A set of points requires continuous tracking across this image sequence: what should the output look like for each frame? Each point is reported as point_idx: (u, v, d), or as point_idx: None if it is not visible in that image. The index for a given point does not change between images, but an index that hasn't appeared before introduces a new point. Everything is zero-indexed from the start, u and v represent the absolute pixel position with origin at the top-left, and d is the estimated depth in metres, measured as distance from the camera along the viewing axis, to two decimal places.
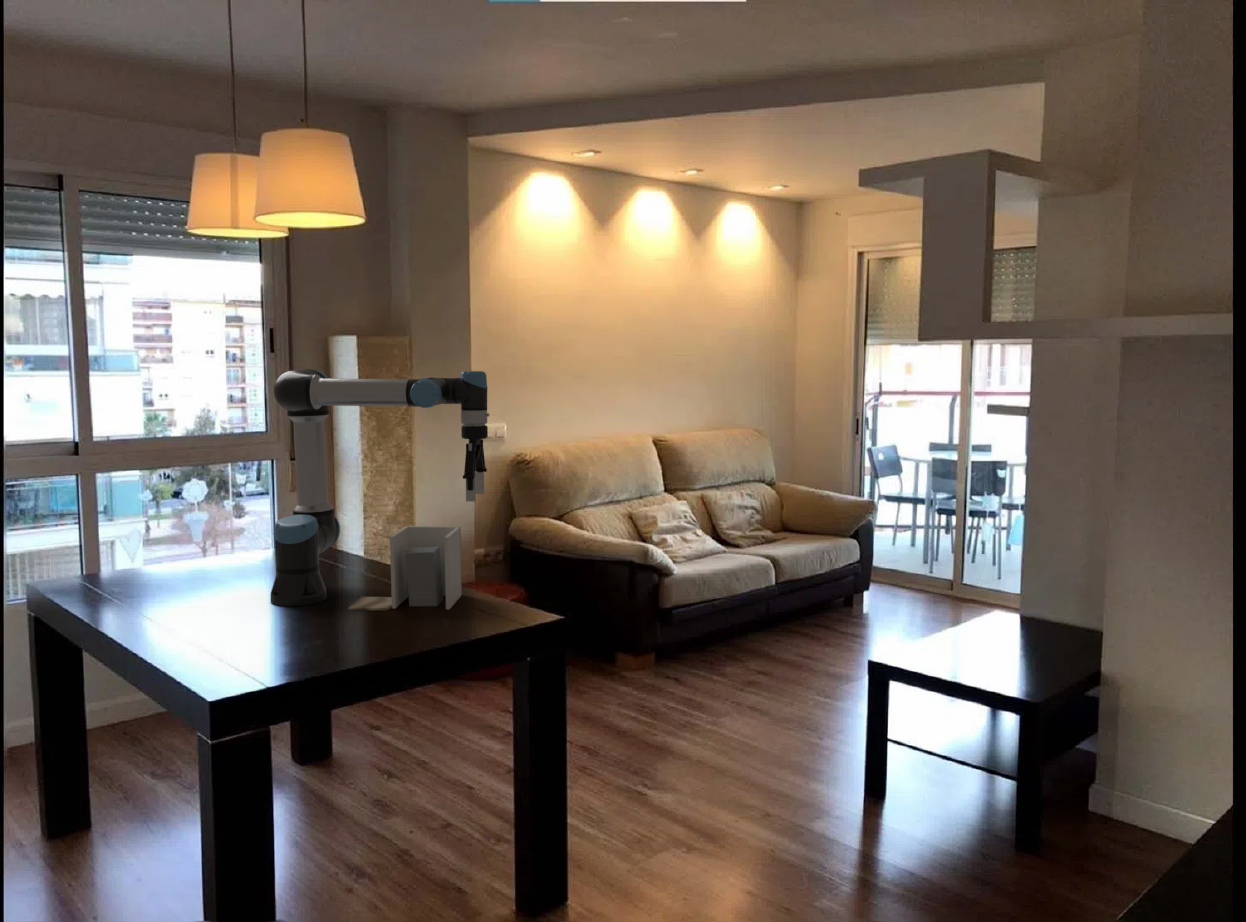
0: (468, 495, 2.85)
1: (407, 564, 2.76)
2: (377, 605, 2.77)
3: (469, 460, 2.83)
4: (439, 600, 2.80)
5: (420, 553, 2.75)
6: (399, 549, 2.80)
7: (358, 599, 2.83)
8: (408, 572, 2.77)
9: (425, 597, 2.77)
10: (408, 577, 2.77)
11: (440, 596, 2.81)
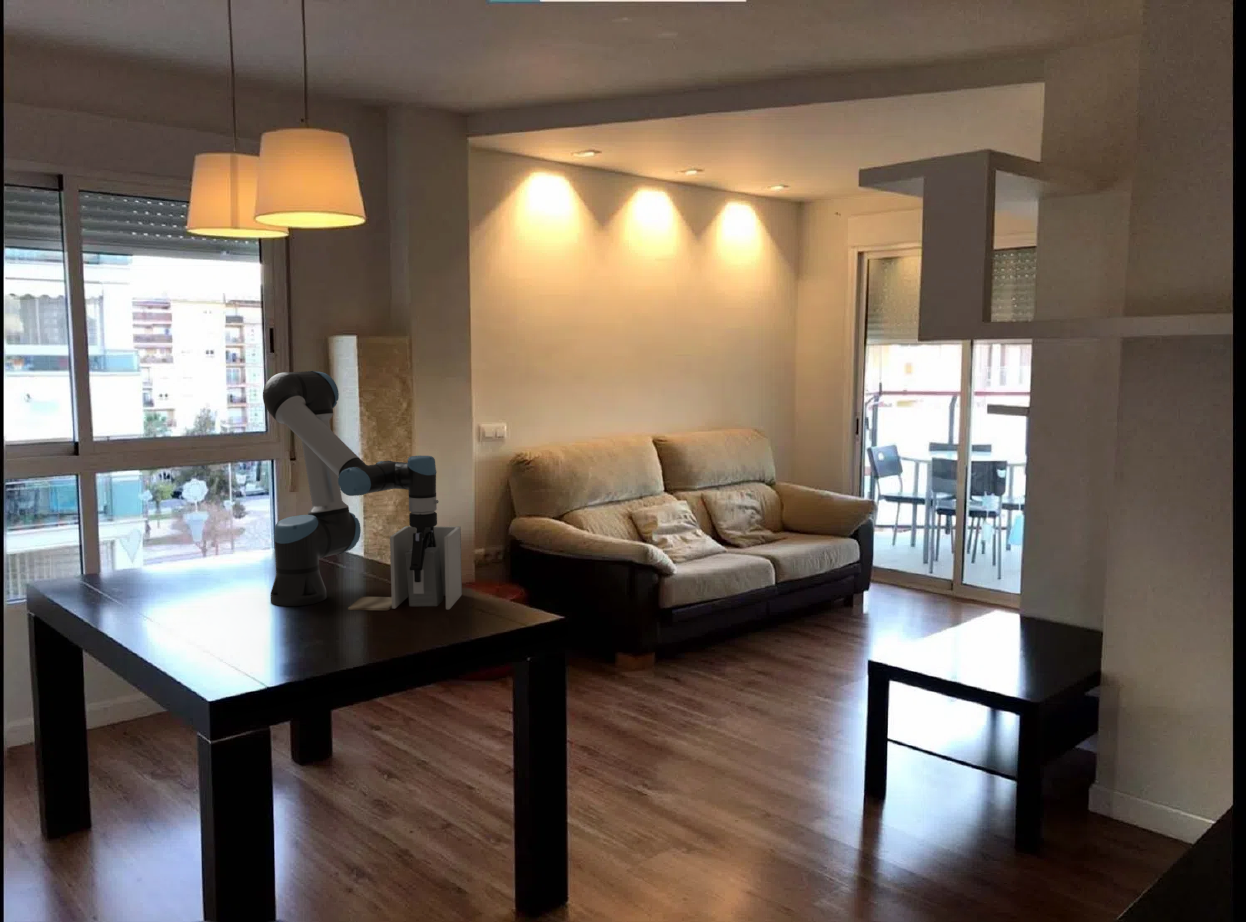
0: (416, 587, 2.73)
1: (407, 564, 2.76)
2: (377, 605, 2.77)
3: (416, 551, 2.70)
4: (439, 600, 2.80)
5: None
6: (399, 549, 2.80)
7: (358, 599, 2.83)
8: (408, 572, 2.77)
9: (425, 597, 2.77)
10: (408, 577, 2.77)
11: (440, 596, 2.81)
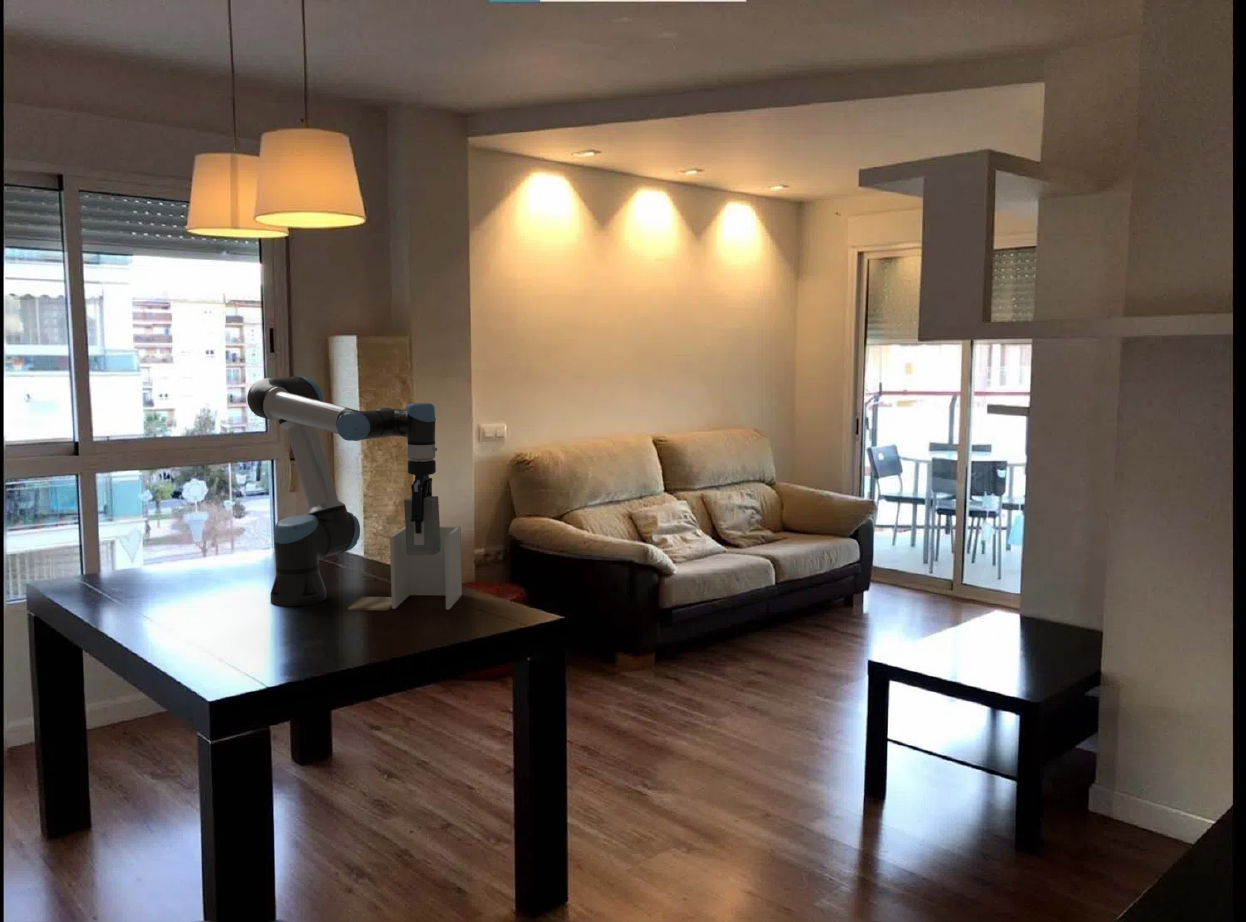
0: (416, 538, 2.75)
1: (405, 511, 2.75)
2: (377, 605, 2.77)
3: (416, 502, 2.71)
4: (437, 549, 2.78)
5: None
6: (399, 549, 2.80)
7: (358, 599, 2.83)
8: (406, 519, 2.75)
9: (422, 545, 2.76)
10: (406, 525, 2.75)
11: (438, 545, 2.79)
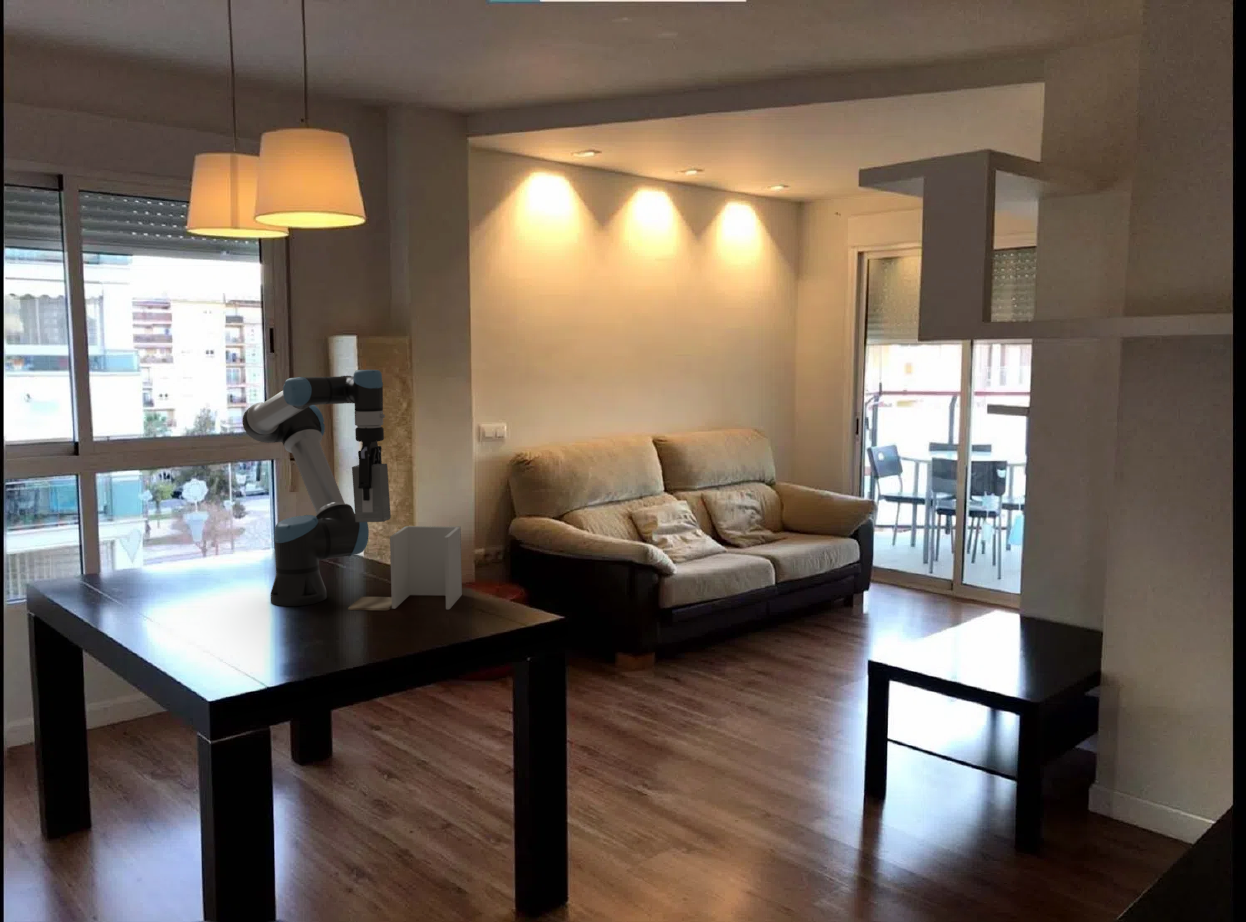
0: (365, 506, 2.73)
1: (353, 478, 2.73)
2: (377, 605, 2.77)
3: (363, 469, 2.69)
4: (386, 516, 2.76)
5: None
6: (399, 549, 2.80)
7: (358, 599, 2.83)
8: (354, 487, 2.74)
9: (371, 512, 2.74)
10: (354, 492, 2.74)
11: (387, 513, 2.77)
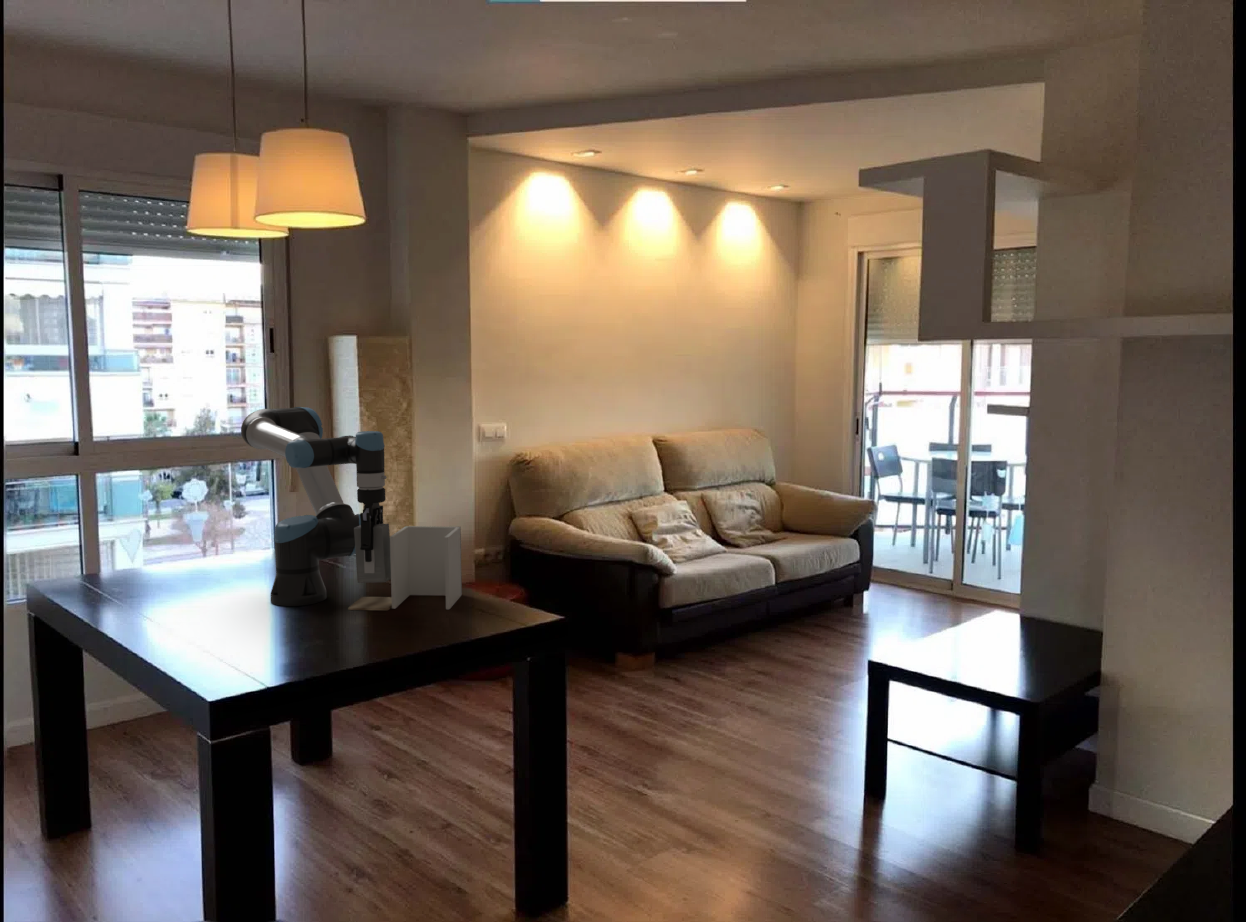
0: (366, 566, 2.75)
1: (355, 539, 2.75)
2: (377, 605, 2.77)
3: (365, 531, 2.71)
4: (388, 577, 2.78)
5: None
6: (399, 549, 2.80)
7: (358, 599, 2.83)
8: (356, 548, 2.76)
9: None
10: (356, 553, 2.76)
11: (389, 573, 2.79)
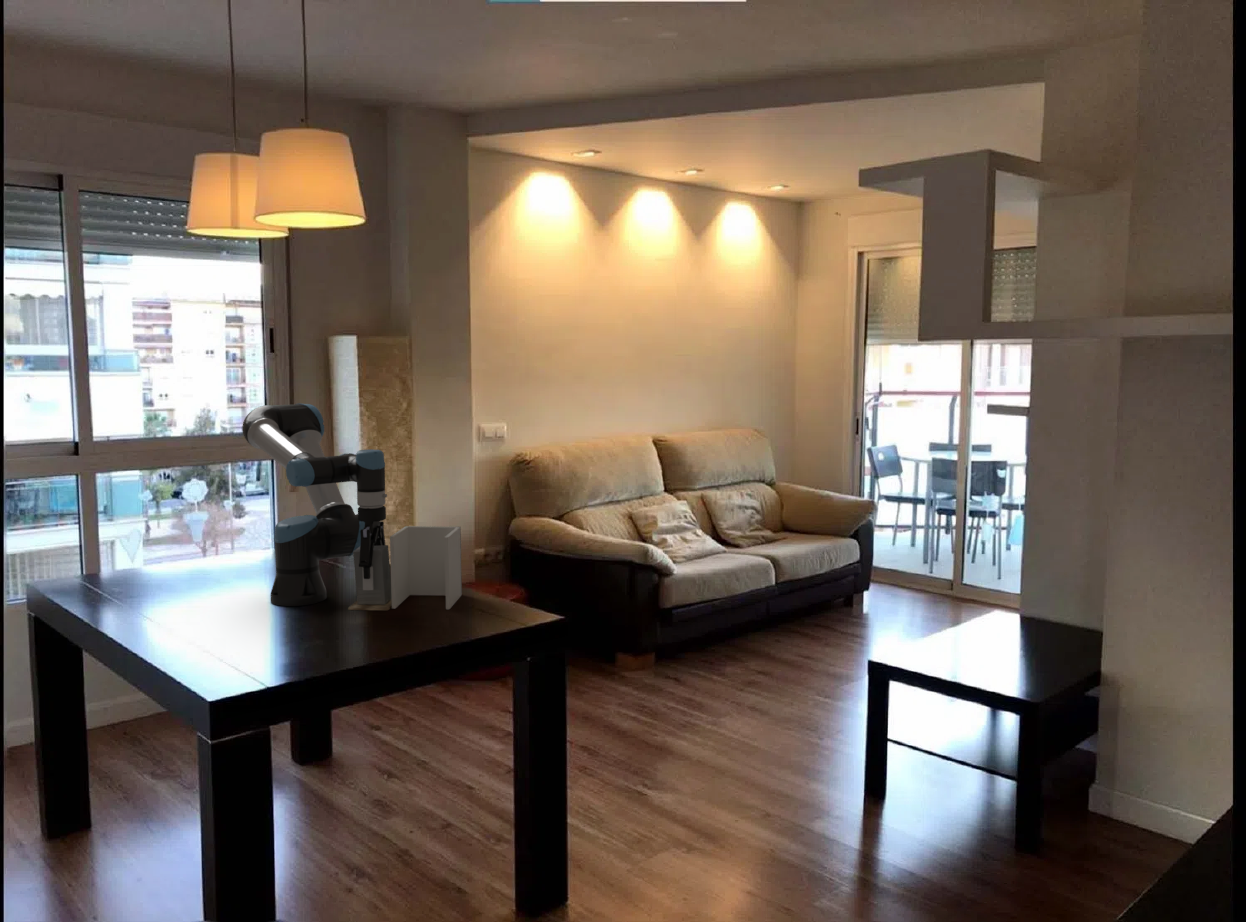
0: (365, 583, 2.74)
1: (355, 562, 2.76)
2: (377, 605, 2.77)
3: (364, 548, 2.71)
4: (387, 598, 2.79)
5: None
6: (399, 549, 2.80)
7: None
8: (356, 570, 2.76)
9: (373, 595, 2.77)
10: (356, 575, 2.76)
11: (389, 594, 2.80)
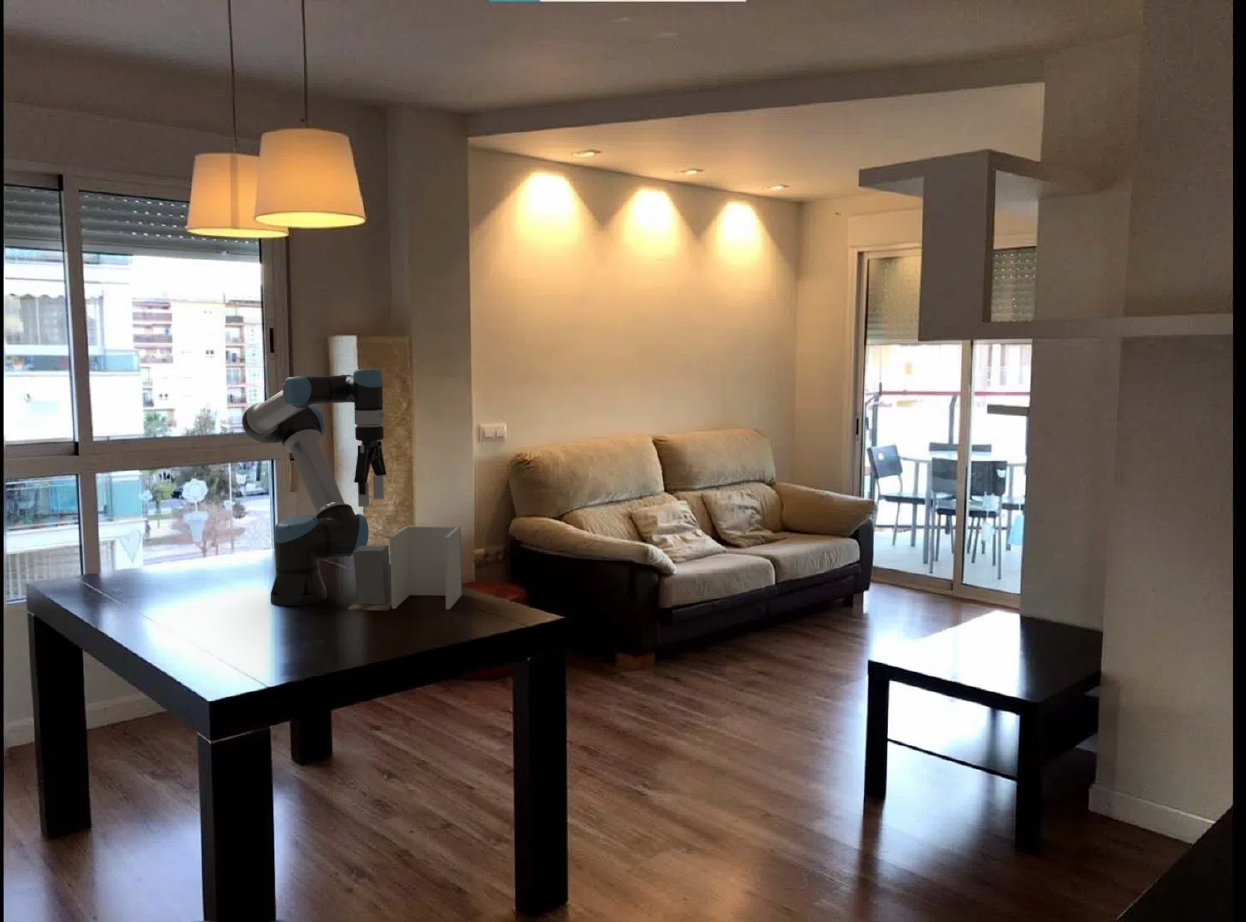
0: (361, 500, 2.70)
1: (355, 562, 2.76)
2: (377, 605, 2.77)
3: (360, 463, 2.68)
4: (388, 598, 2.79)
5: (368, 551, 2.75)
6: (399, 549, 2.80)
7: None
8: (356, 570, 2.76)
9: (373, 595, 2.77)
10: (356, 575, 2.76)
11: (389, 594, 2.80)
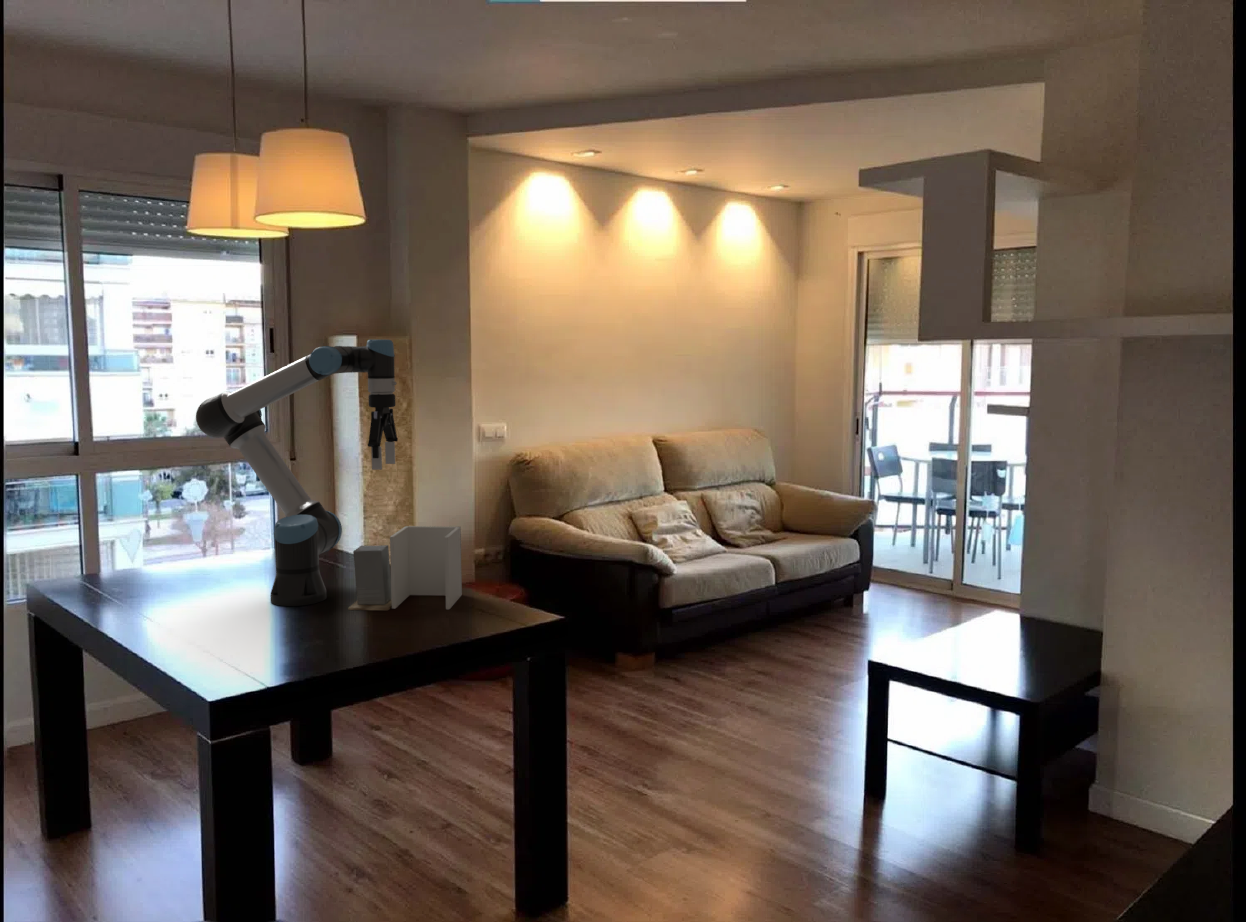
0: (374, 463, 2.85)
1: (355, 562, 2.76)
2: (377, 605, 2.77)
3: (374, 428, 2.82)
4: (388, 598, 2.79)
5: (368, 551, 2.75)
6: (399, 549, 2.80)
7: None
8: (356, 570, 2.76)
9: (373, 595, 2.77)
10: (356, 575, 2.76)
11: (389, 594, 2.80)
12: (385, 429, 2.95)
